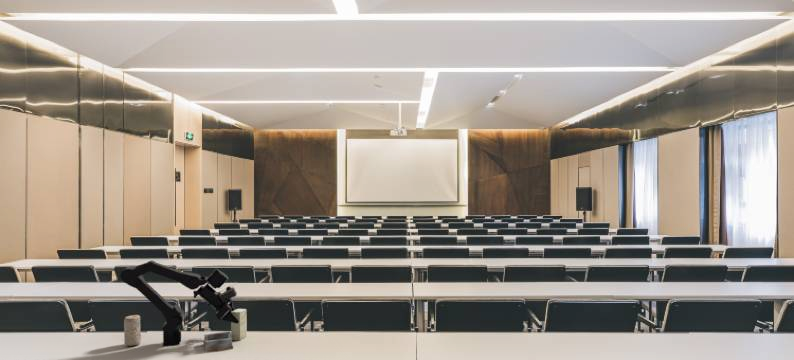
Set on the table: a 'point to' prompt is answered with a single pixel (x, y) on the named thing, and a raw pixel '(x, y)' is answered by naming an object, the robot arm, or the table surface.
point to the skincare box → (239, 325)
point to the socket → (217, 341)
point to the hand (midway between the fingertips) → (238, 319)
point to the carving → (132, 330)
